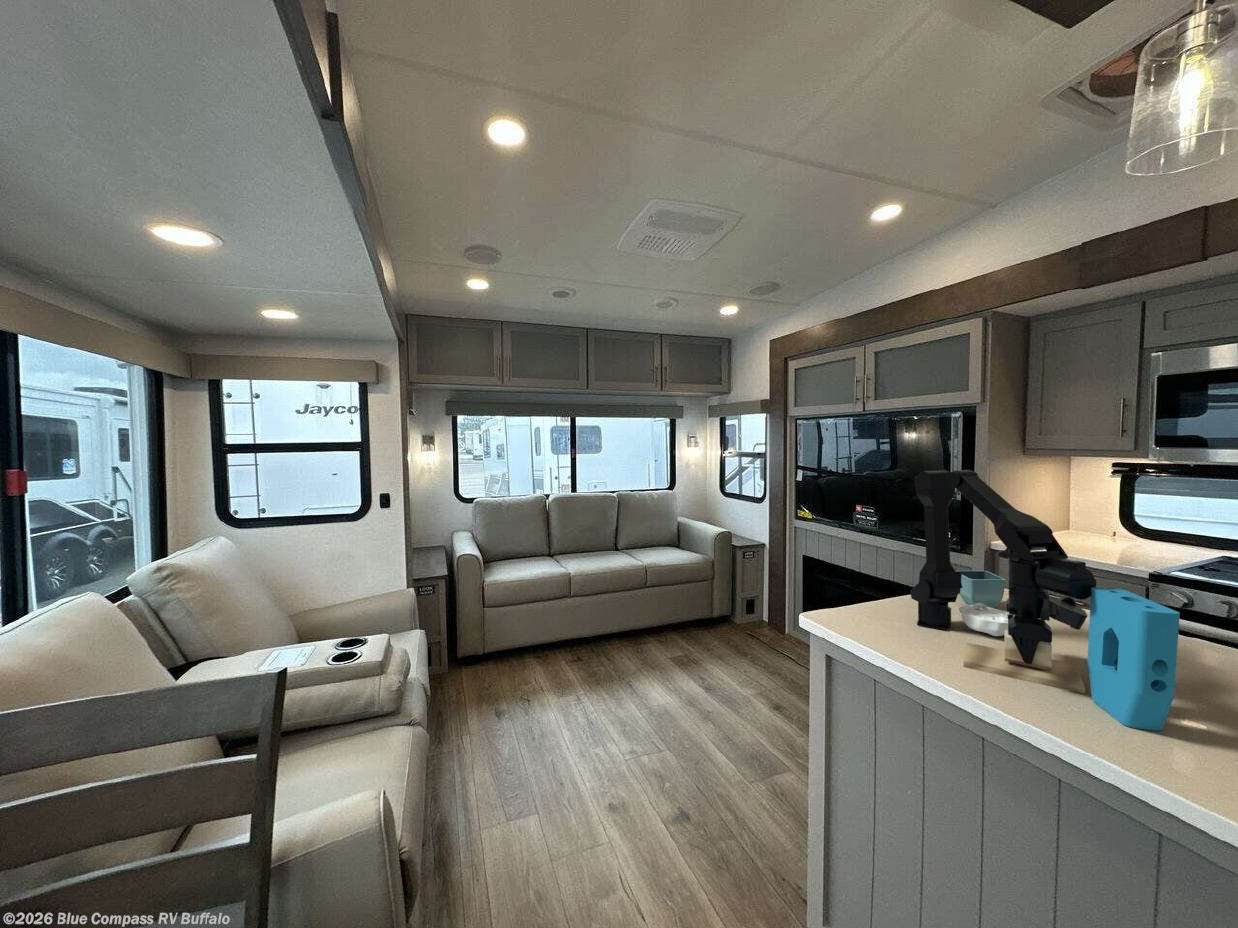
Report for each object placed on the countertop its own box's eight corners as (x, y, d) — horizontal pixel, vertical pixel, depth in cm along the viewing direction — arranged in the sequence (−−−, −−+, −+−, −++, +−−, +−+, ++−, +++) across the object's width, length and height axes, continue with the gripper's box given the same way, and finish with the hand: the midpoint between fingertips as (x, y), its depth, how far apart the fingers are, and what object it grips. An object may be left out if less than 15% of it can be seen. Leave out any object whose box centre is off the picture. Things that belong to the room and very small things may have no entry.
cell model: (991, 645, 105) (990, 616, 105) (948, 624, 117) (948, 598, 117) (1030, 641, 106) (1030, 613, 106) (984, 622, 118) (984, 596, 118)
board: (963, 666, 96) (963, 660, 96) (965, 647, 105) (965, 642, 105) (1085, 693, 85) (1085, 687, 85) (1076, 669, 93) (1076, 663, 93)
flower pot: (971, 611, 126) (970, 579, 125) (953, 600, 134) (953, 570, 134) (1007, 612, 124) (1007, 579, 124) (986, 601, 133) (986, 570, 133)
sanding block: (1005, 660, 94) (1004, 636, 94) (1004, 652, 98) (1004, 629, 97) (1051, 670, 90) (1051, 645, 89) (1049, 661, 93) (1049, 637, 93)
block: (1082, 692, 85) (1088, 586, 83) (1116, 696, 83) (1123, 589, 82) (1134, 733, 73) (1142, 611, 72) (1175, 738, 72) (1183, 614, 70)
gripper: (1090, 604, 81) (1090, 690, 81) (1076, 578, 95) (1076, 652, 96) (1008, 593, 88) (1008, 672, 88) (1006, 570, 102) (1006, 639, 103)
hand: (1027, 658), depth 94 cm, fingers closed on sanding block, 4 cm apart
